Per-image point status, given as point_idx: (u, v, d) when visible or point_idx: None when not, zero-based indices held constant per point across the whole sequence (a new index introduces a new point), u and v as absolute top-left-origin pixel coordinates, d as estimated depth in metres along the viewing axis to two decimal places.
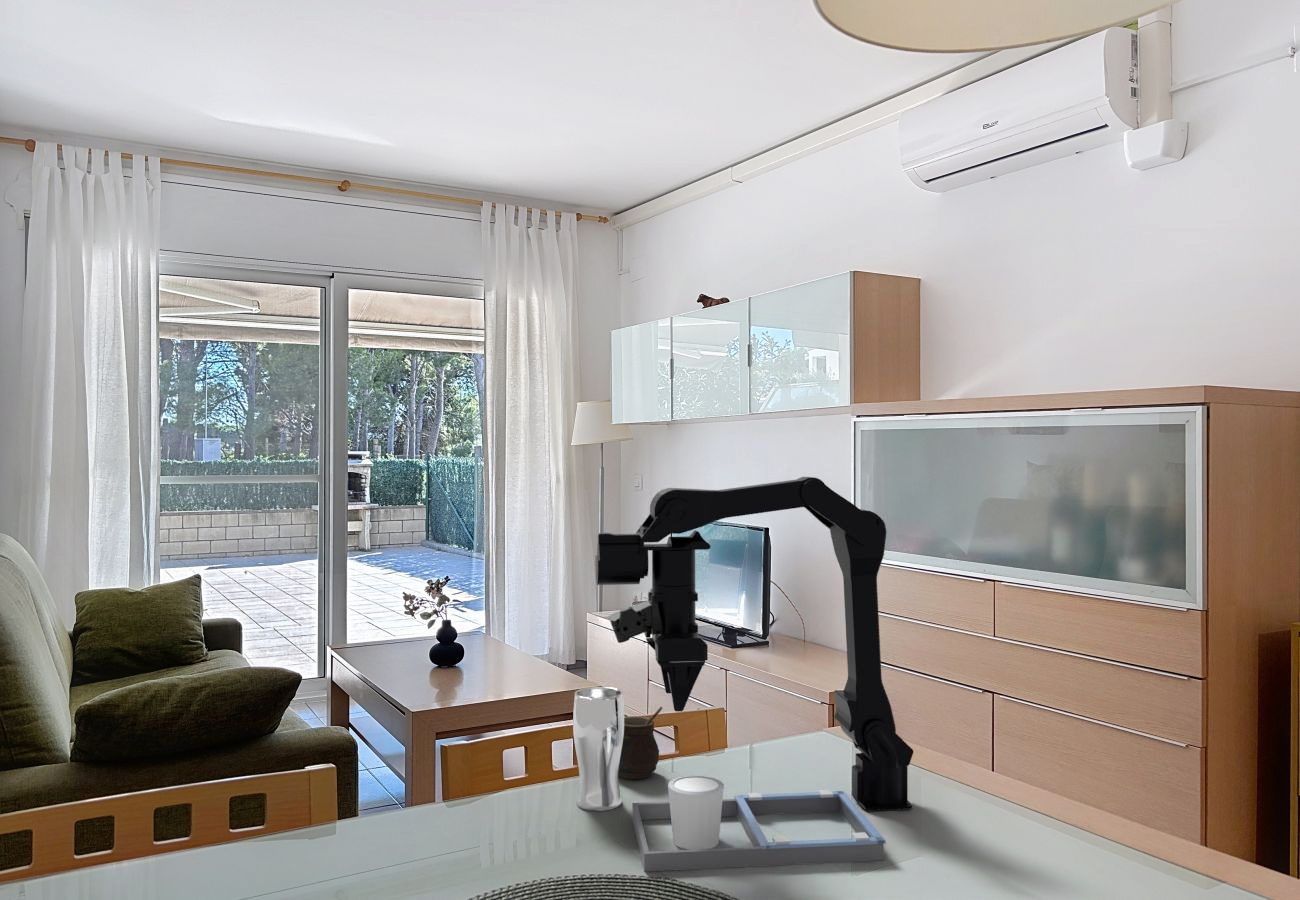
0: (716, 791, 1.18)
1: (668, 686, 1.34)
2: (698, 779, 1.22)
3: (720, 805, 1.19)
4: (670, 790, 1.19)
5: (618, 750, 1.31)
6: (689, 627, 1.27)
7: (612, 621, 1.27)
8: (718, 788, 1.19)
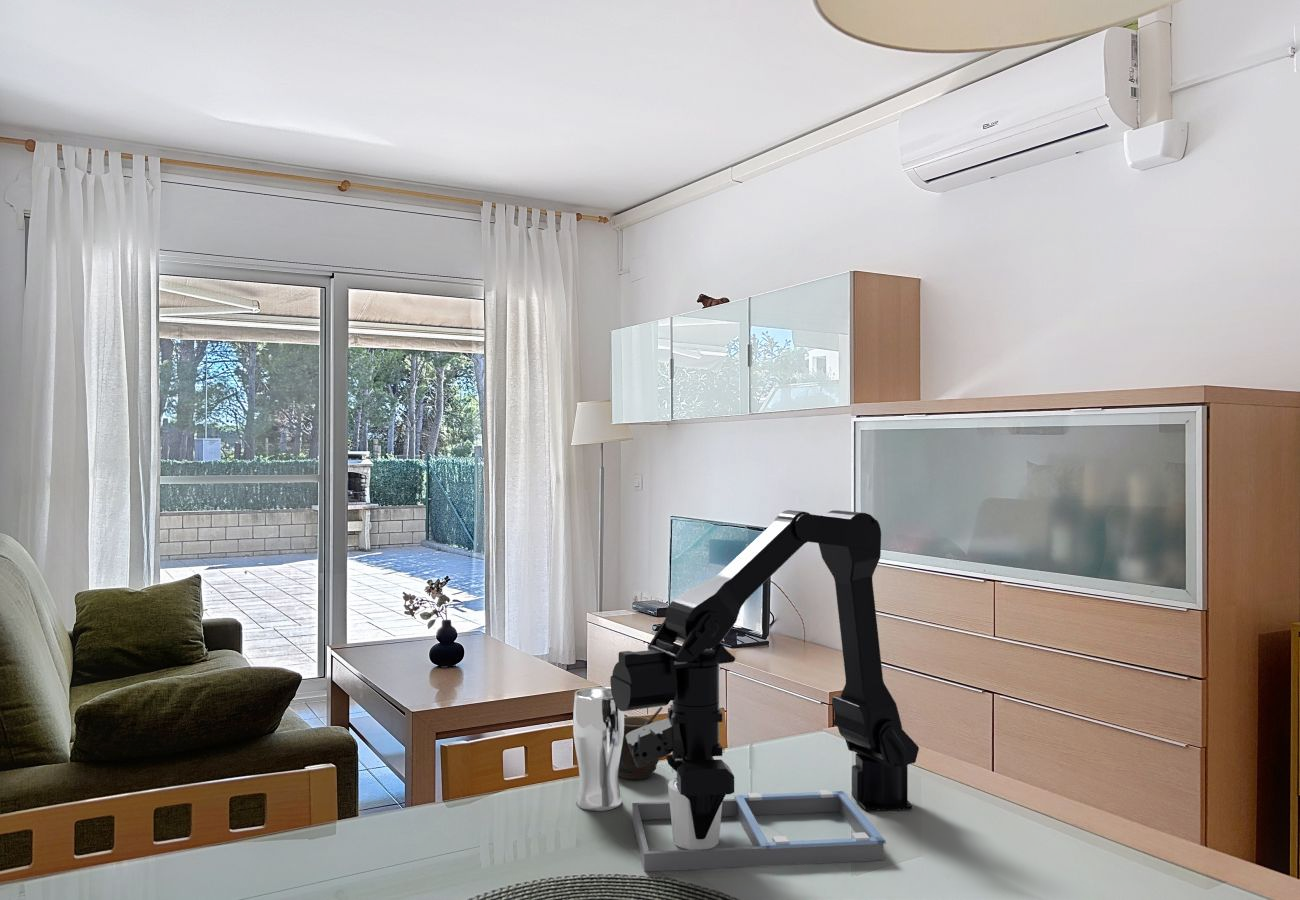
0: None
1: None
2: None
3: (720, 805, 1.19)
4: (670, 790, 1.19)
5: (618, 750, 1.31)
6: (712, 750, 1.18)
7: (630, 744, 1.17)
8: None
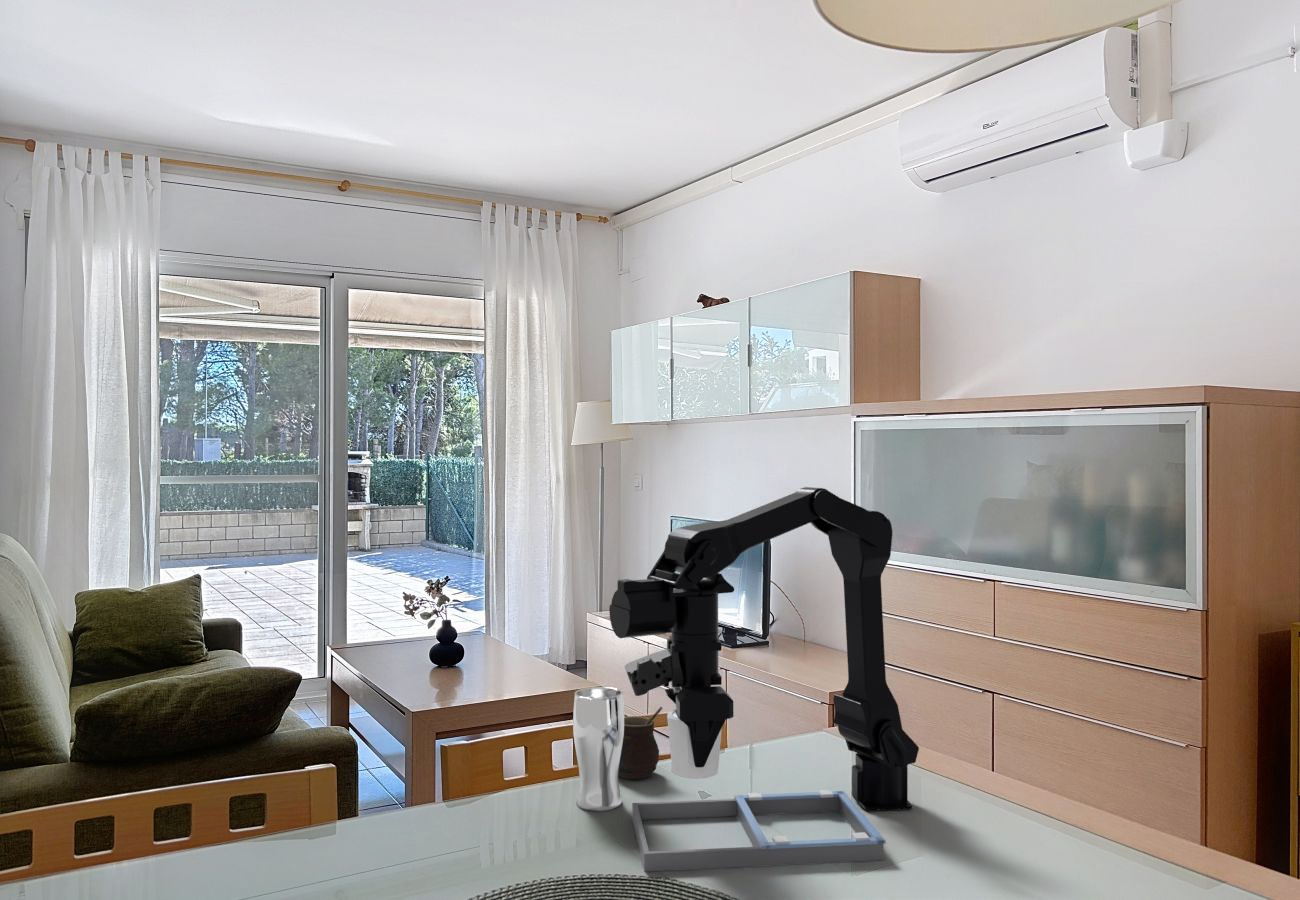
0: None
1: None
2: None
3: (719, 734, 1.19)
4: (669, 719, 1.19)
5: (618, 750, 1.31)
6: (712, 679, 1.18)
7: (629, 672, 1.17)
8: None
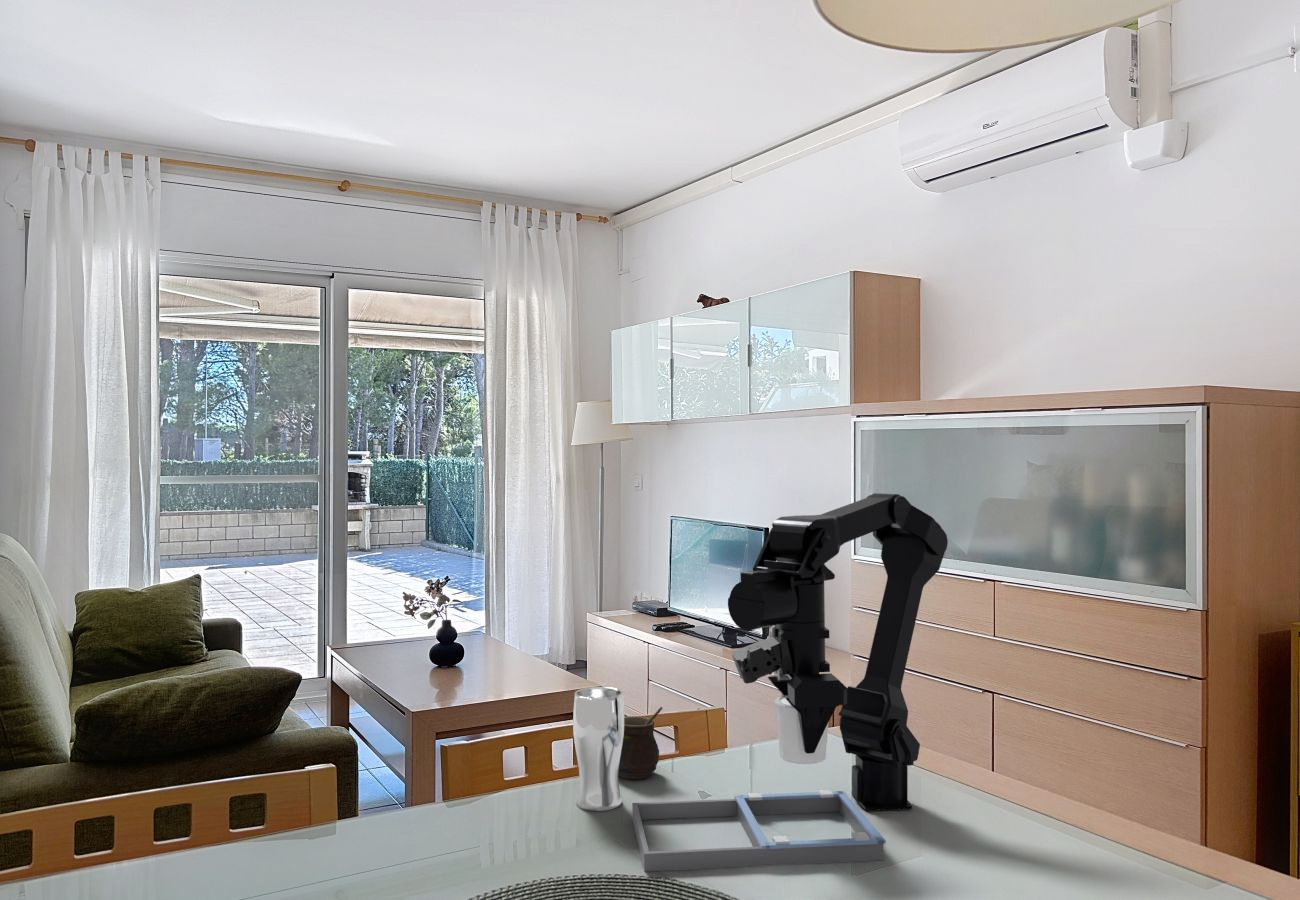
0: None
1: None
2: None
3: None
4: (777, 706, 1.20)
5: (618, 750, 1.31)
6: (820, 666, 1.19)
7: (739, 660, 1.19)
8: None
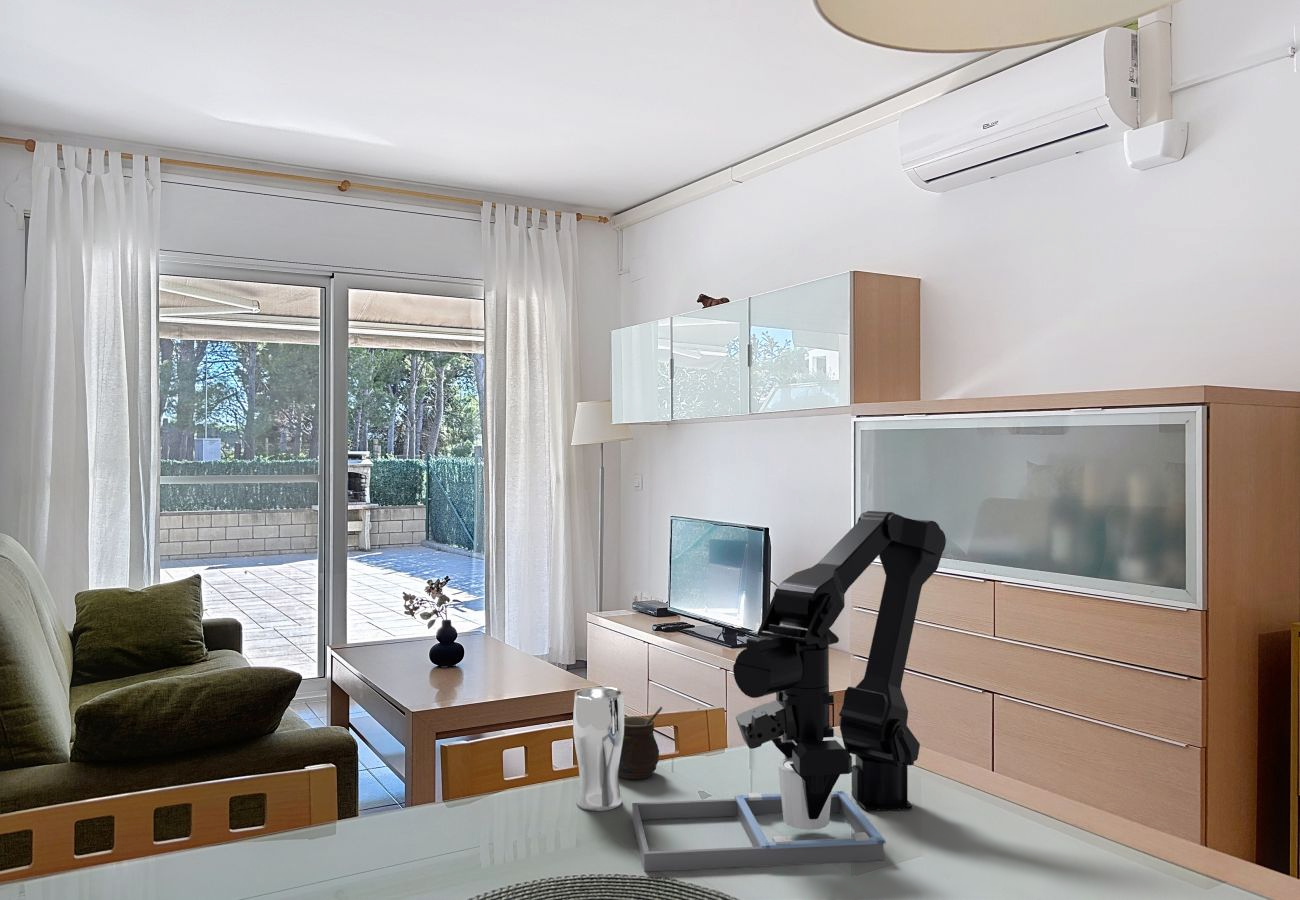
0: None
1: None
2: None
3: None
4: (781, 770, 1.20)
5: (618, 750, 1.31)
6: (824, 732, 1.19)
7: (743, 726, 1.19)
8: None
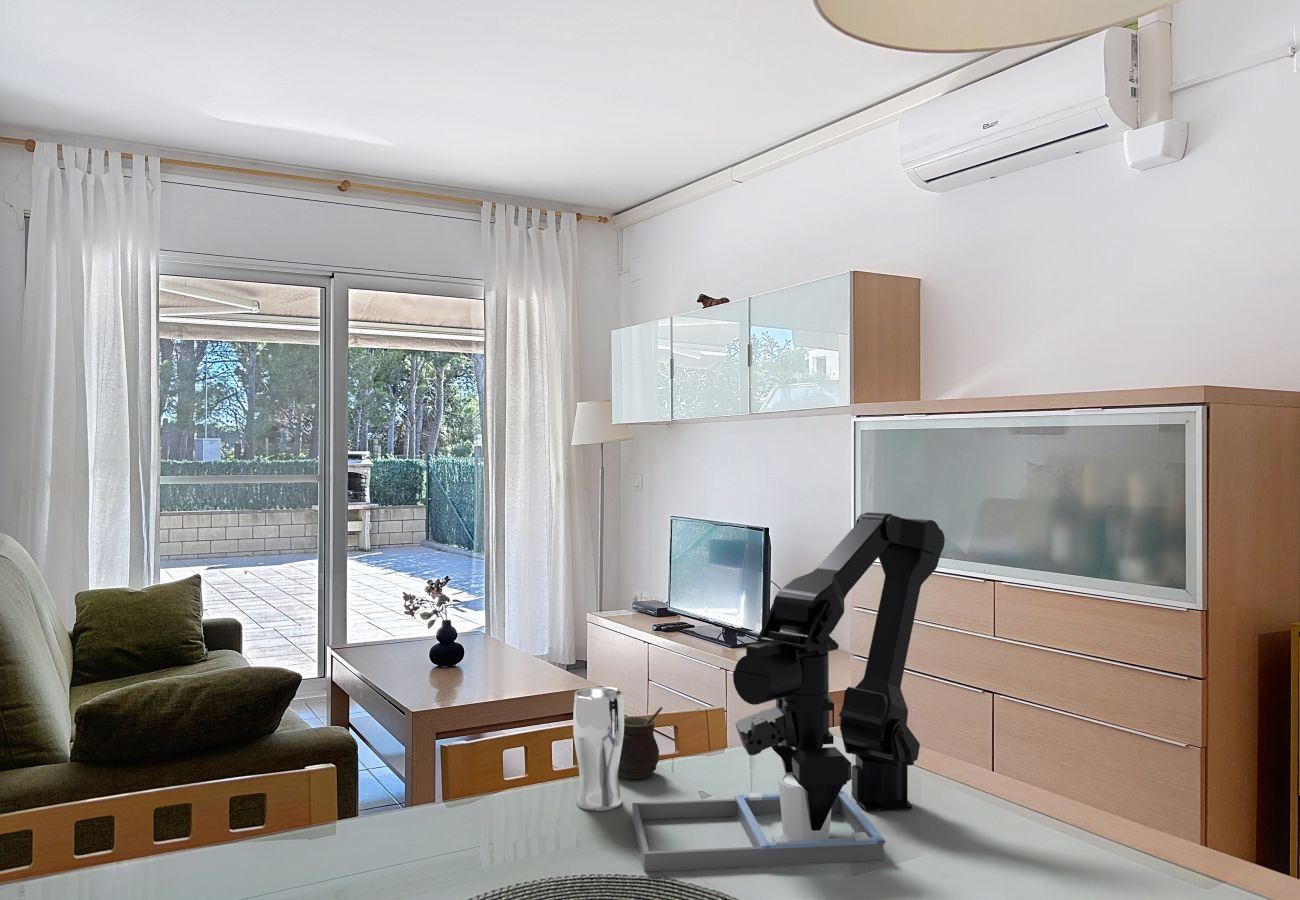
0: None
1: None
2: None
3: None
4: (781, 786, 1.20)
5: (618, 750, 1.31)
6: (824, 738, 1.19)
7: (743, 732, 1.19)
8: None
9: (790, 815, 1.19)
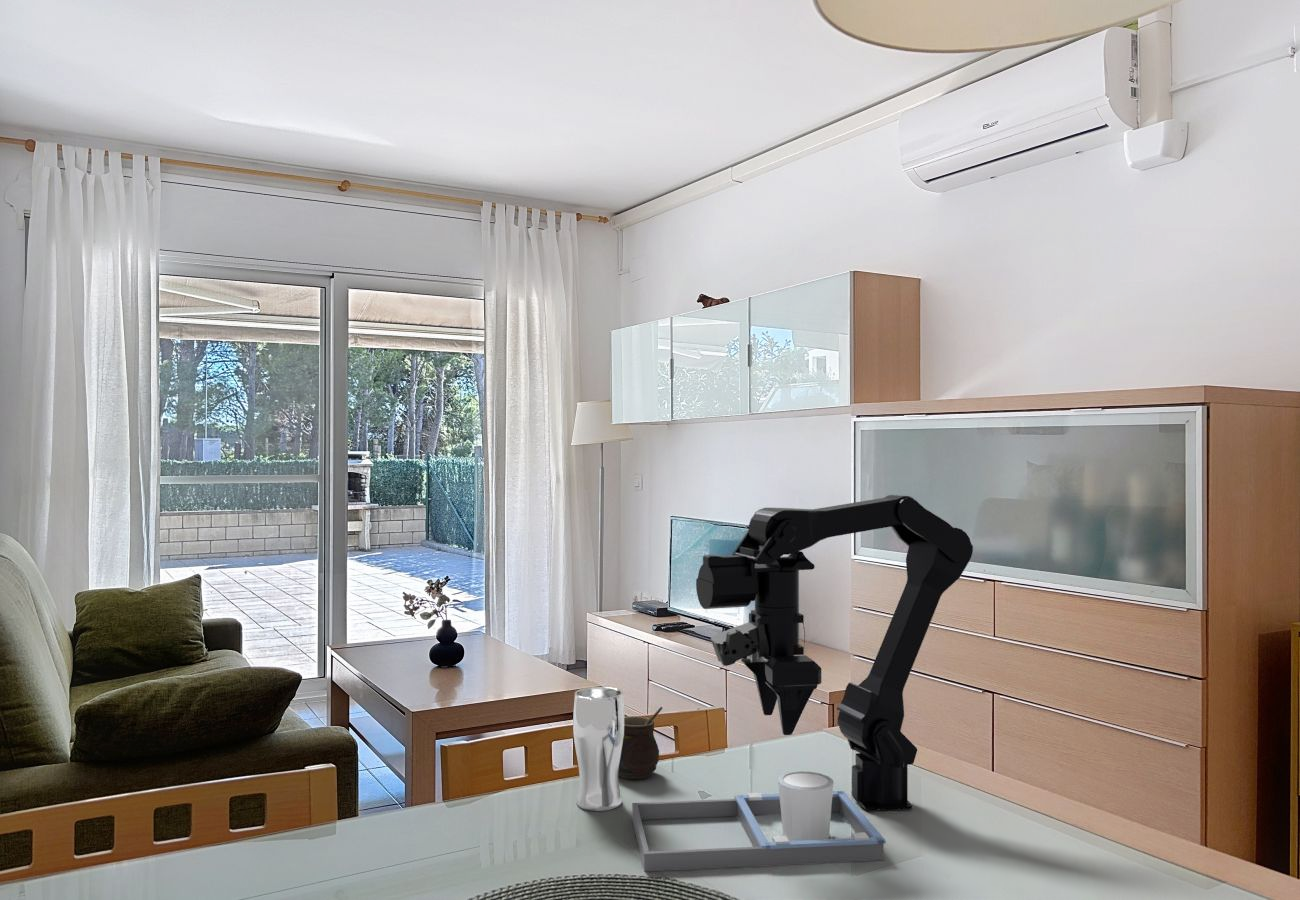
0: (827, 786, 1.19)
1: (766, 708, 1.32)
2: (806, 775, 1.23)
3: (831, 800, 1.20)
4: (781, 786, 1.20)
5: (618, 750, 1.31)
6: (795, 649, 1.26)
7: (718, 644, 1.25)
8: (829, 783, 1.20)
9: (790, 815, 1.19)
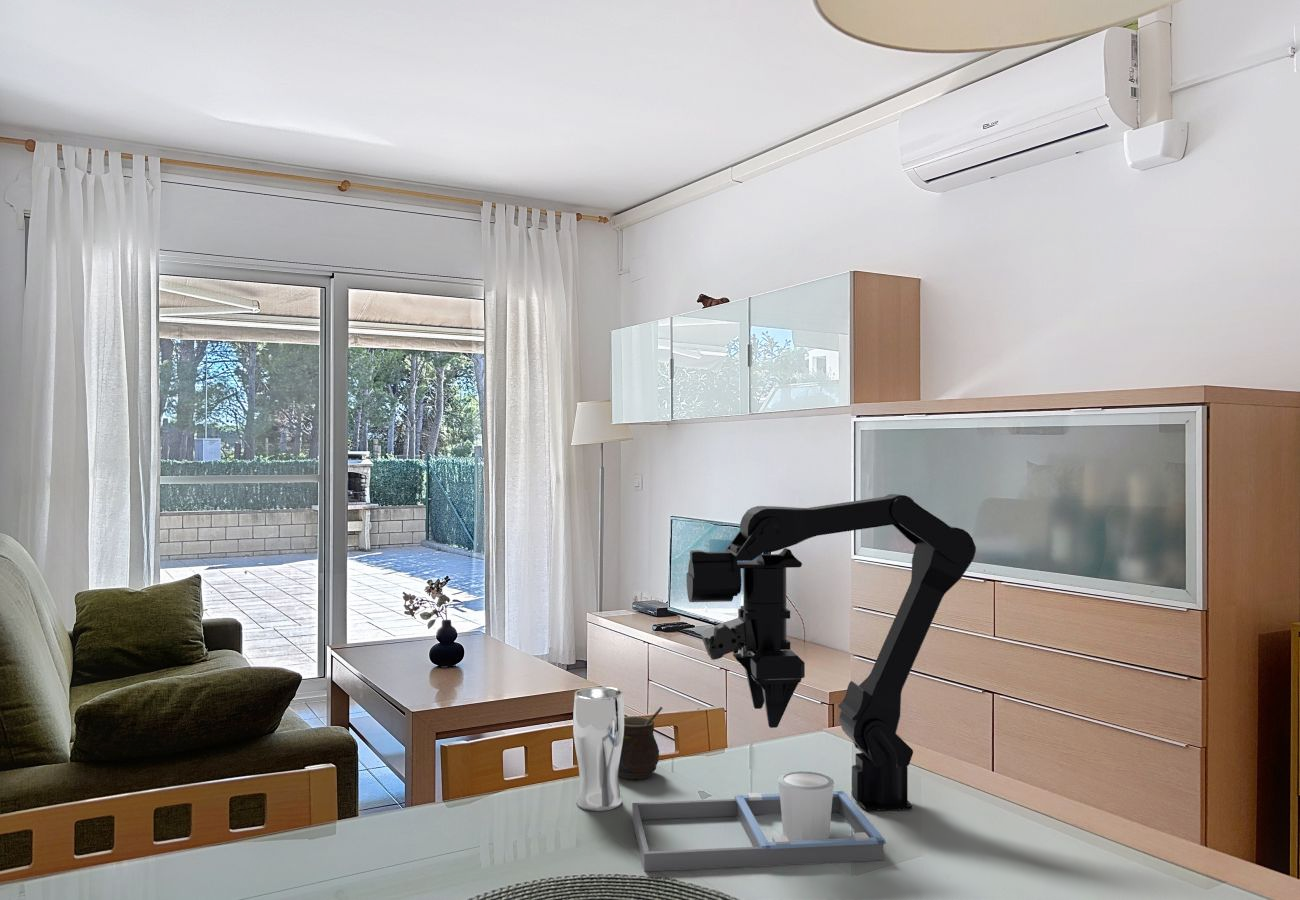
0: (827, 786, 1.19)
1: (756, 701, 1.35)
2: (806, 775, 1.24)
3: (831, 800, 1.20)
4: (781, 785, 1.20)
5: (618, 750, 1.31)
6: (781, 644, 1.29)
7: (706, 638, 1.28)
8: (829, 783, 1.20)
9: (790, 815, 1.19)
